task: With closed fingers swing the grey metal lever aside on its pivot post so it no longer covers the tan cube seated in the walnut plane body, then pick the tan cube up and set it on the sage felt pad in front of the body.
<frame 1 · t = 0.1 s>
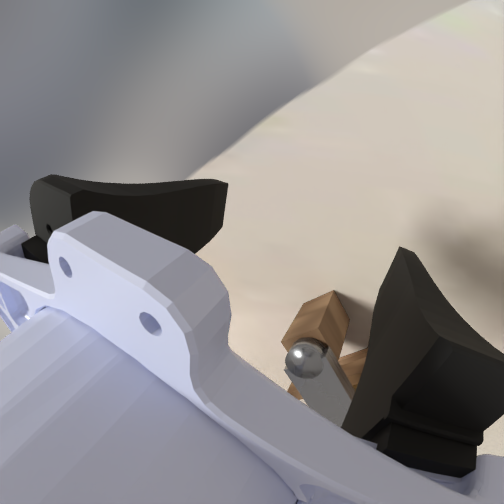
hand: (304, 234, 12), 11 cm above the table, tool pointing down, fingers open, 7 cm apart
lever: (343, 416, 19), point 6 cm above the table, hinge at 0.0°
plane body: (369, 390, 24), on the table
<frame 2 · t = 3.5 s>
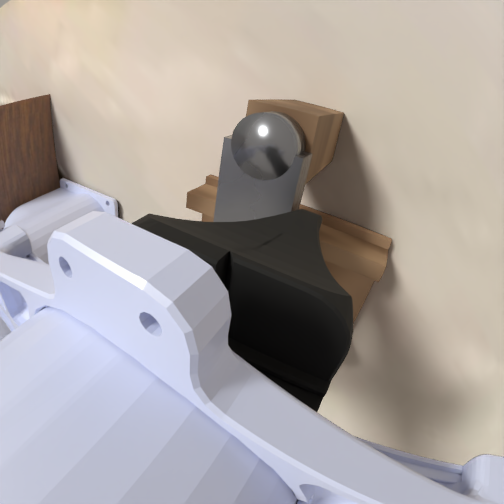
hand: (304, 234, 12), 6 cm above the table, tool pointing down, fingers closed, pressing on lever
tissue box cover: (19, 159, 32), on the table
lever: (244, 270, 14), point 6 cm above the table, hinge at 0.0°, touching gripper
plane body: (280, 264, 21), on the table
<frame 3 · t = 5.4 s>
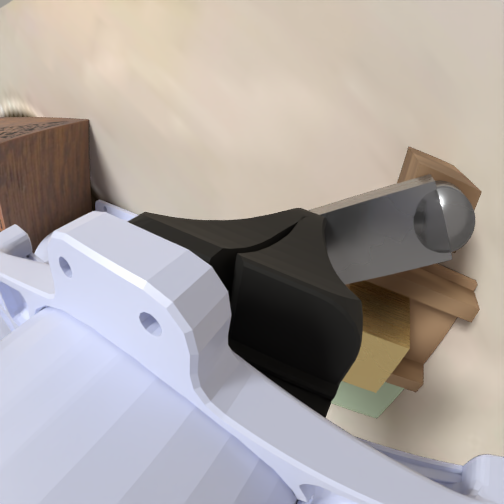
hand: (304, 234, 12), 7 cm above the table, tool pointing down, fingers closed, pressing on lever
tissue box cover: (35, 172, 30), on the table
tan cube: (370, 308, 19), resting on plane body
pad: (363, 386, 23), on the table
lever: (307, 251, 13), point 6 cm above the table, hinge at -52.7°, touching gripper
plane body: (370, 303, 20), on the table
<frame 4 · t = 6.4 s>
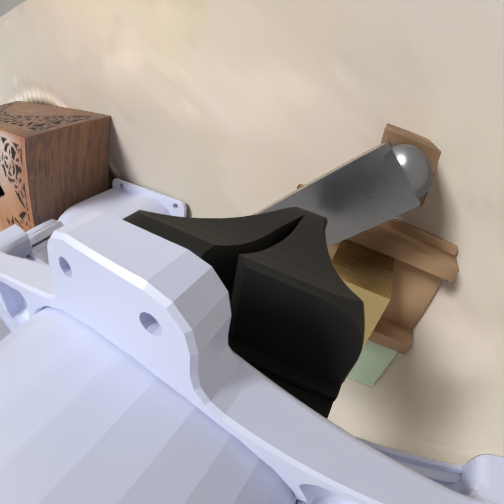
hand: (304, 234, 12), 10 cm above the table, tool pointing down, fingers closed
tissue box cover: (54, 156, 34), on the table
tan cube: (359, 271, 21), resting on plane body
pad: (357, 352, 25), on the table
lever: (302, 222, 15), point 6 cm above the table, hinge at -43.2°
plane body: (360, 267, 22), on the table
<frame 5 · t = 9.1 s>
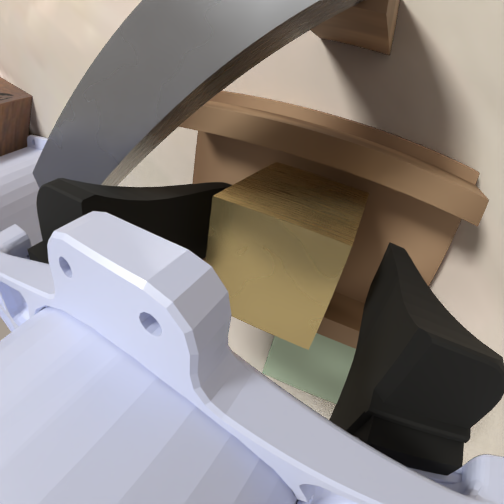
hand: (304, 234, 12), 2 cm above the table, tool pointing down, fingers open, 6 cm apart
tan cube: (310, 219, 13), resting on plane body
pad: (322, 357, 17), on the table
lever: (143, 80, 7), point 6 cm above the table, hinge at -45.8°, touching gripper
plane body: (313, 215, 13), on the table
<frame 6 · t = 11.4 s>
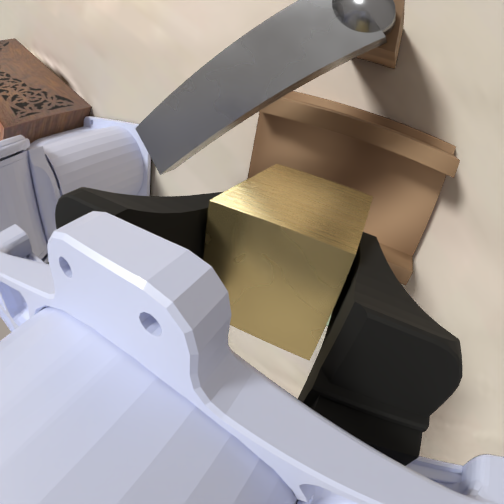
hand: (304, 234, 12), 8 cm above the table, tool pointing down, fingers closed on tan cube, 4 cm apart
tissue box cover: (34, 111, 30), on the table
tan cube: (312, 223, 13), point 7 cm above the table, touching gripper
lever: (251, 73, 12), point 6 cm above the table, hinge at -47.2°
plane body: (342, 177, 18), on the table
when the fingers open (3 cm above the table, at t = 13.3 s): tan cube drops 1 cm, resting on pad.
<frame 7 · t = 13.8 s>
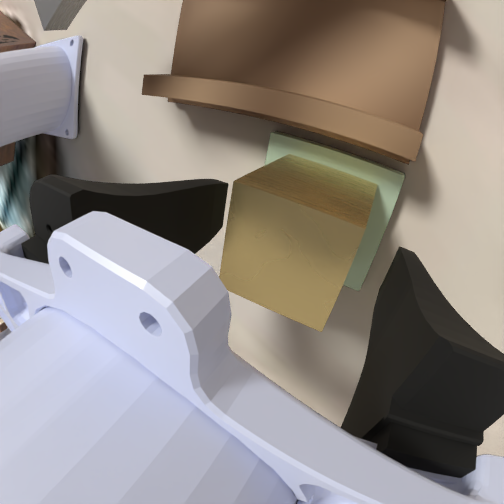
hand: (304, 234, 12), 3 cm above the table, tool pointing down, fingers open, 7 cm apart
tan cube: (320, 209, 13), point 1 cm above the table, touching pad
pad: (322, 210, 14), on the table
plane body: (295, 28, 11), on the table
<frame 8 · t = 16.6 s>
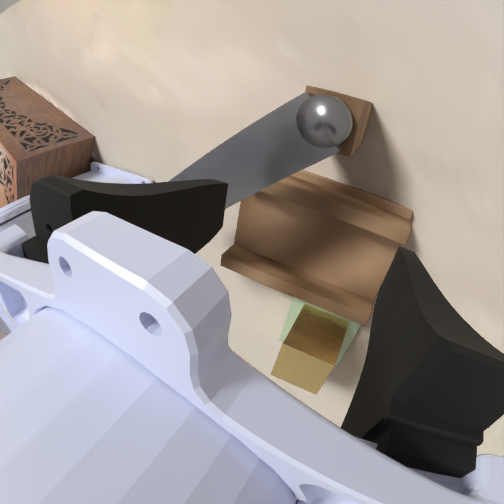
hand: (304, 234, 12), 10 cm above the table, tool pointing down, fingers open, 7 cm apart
tissue box cover: (41, 144, 34), on the table
tan cube: (319, 329, 25), point 1 cm above the table, touching pad
pad: (320, 326, 26), on the table
lever: (232, 172, 16), point 6 cm above the table, hinge at -47.2°
plane body: (314, 235, 23), on the table
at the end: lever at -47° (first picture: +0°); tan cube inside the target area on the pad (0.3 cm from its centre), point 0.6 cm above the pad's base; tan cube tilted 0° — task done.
